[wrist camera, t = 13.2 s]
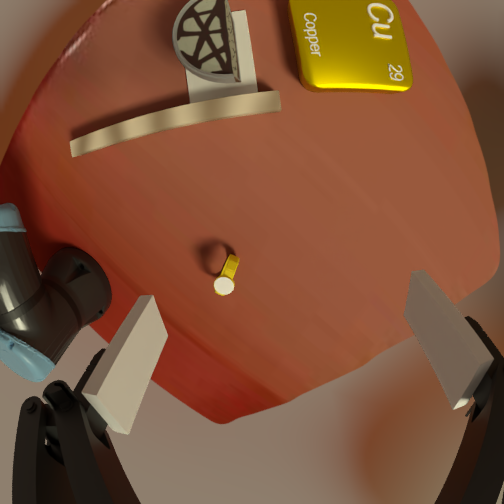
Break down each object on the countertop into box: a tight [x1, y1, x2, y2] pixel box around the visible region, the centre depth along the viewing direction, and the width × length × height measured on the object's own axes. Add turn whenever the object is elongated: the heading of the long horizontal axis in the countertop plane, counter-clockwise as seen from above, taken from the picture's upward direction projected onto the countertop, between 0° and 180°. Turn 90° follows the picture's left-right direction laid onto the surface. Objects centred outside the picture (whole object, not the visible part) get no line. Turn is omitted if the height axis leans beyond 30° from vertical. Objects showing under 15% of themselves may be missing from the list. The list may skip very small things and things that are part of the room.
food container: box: [172, 0, 241, 83], centre depth 25 cm, size 12×6×10 cm, turn 6°
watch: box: [214, 254, 239, 296], centre depth 40 cm, size 6×3×6 cm, turn 156°
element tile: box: [287, 0, 413, 94], centre depth 26 cm, size 15×15×5 cm
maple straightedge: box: [70, 90, 281, 157], centre depth 32 cm, size 30×3×4 cm, turn 97°
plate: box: [186, 10, 258, 103], centre depth 30 cm, size 9×13×1 cm
